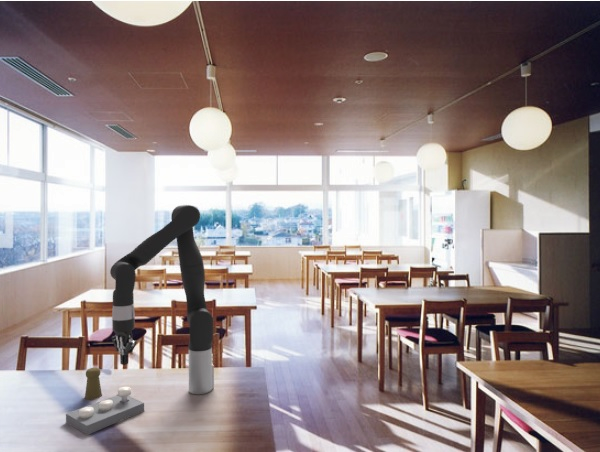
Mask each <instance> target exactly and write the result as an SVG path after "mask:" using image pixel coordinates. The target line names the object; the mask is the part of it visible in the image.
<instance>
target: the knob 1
mask: <svg viewBox="0 0 600 452" xmlns="http://www.w3.org/2000/svg"><path fill="white" fill-rule="evenodd" d="M84 407H85V408H83V407H81V408H82V409H80V408H79V409H80V410H79V418H82V419H85V418H89V417H92V416H93V415H94V408H93V407H86V406H84Z"/></svg>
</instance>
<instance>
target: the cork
mask: <svg viewBox="0 0 600 452" xmlns="http://www.w3.org/2000/svg"><path fill="white" fill-rule="evenodd" d="M100 375H101V369H100V368H99V367H90V368H87V370H86V371H85V378H86V386H85V392H84V393H85V394H84V399H85V400H88V401H89V400H90V401H92V400H97V399H100V398H101V397H102V396H103V394H102V387H101V380H100Z"/></svg>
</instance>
